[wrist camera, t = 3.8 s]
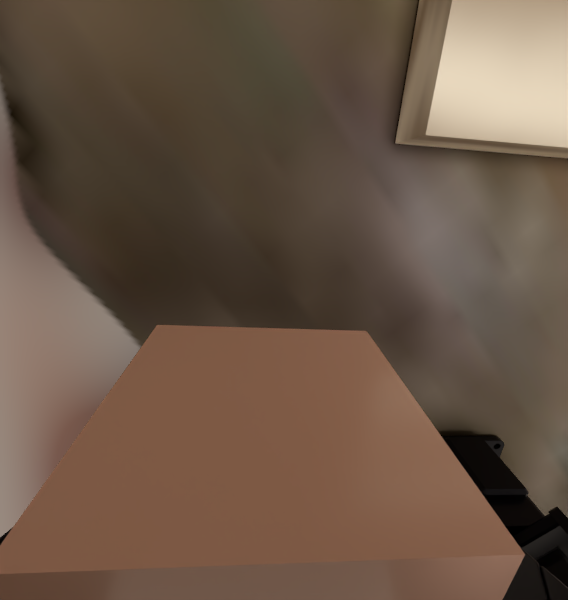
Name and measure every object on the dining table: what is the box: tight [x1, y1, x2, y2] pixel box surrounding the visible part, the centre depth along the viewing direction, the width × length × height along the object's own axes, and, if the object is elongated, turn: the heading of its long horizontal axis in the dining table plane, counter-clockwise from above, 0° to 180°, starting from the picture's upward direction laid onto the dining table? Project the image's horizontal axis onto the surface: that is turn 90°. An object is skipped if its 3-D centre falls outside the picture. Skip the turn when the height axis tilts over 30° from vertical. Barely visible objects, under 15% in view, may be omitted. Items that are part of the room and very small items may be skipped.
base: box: [395, 0, 568, 158], centre depth 12 cm, size 10×10×3 cm
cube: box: [0, 325, 525, 600], centre depth 6 cm, size 5×5×5 cm
